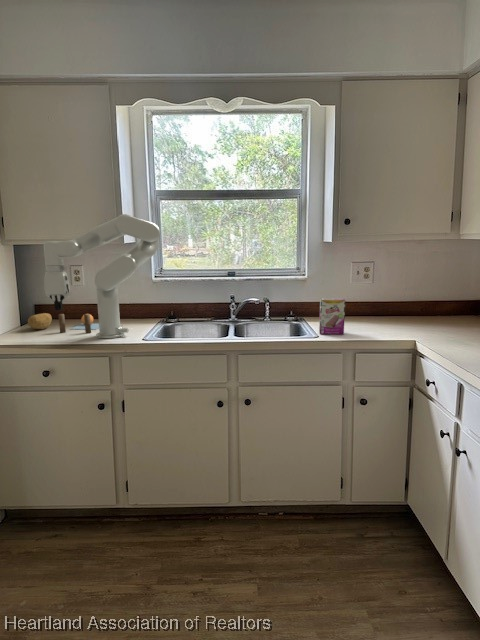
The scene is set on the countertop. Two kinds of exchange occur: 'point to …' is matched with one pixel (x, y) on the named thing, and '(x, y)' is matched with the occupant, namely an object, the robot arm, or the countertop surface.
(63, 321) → the left post
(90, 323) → the ball
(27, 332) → the countertop surface
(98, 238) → the robot arm
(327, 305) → the candy bar box
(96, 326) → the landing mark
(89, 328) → the right post
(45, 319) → the potato
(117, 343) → the countertop surface
